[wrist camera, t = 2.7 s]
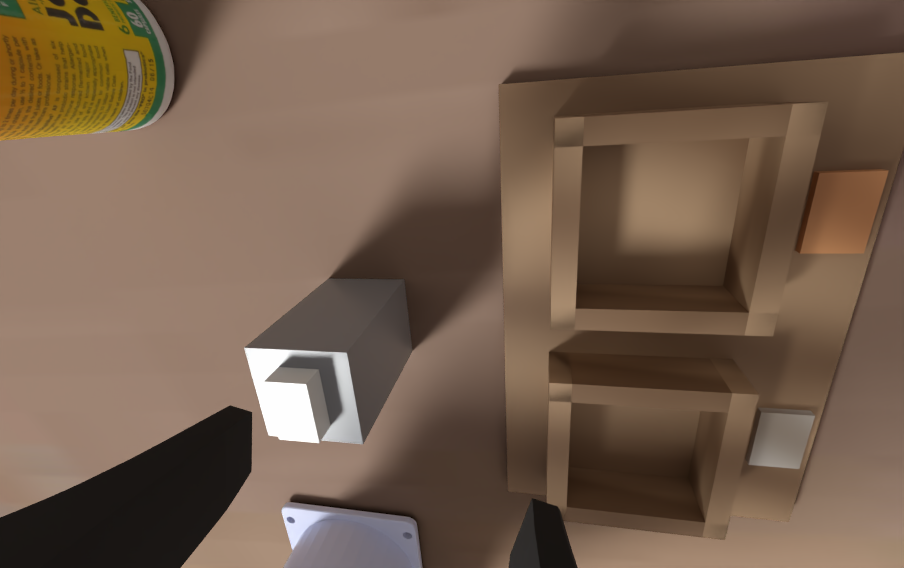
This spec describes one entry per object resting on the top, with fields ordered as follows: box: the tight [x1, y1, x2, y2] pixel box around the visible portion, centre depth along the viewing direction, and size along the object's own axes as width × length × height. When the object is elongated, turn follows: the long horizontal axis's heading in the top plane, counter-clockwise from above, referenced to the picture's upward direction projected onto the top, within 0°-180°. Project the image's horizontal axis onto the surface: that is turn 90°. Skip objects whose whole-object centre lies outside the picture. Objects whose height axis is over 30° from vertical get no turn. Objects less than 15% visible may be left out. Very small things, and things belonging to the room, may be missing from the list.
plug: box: [244, 279, 412, 444], centre depth 17 cm, size 4×4×7 cm
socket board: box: [499, 52, 904, 540], centre depth 16 cm, size 18×12×3 cm, turn 4°
